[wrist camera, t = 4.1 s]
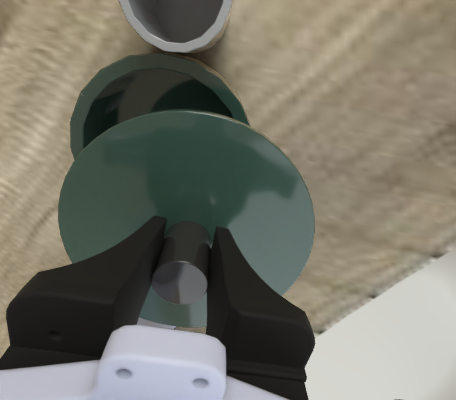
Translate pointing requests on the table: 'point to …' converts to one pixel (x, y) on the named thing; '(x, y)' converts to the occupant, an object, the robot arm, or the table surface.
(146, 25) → the gray cylindrical cup
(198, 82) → the pot
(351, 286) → the table surface
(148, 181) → the pot lid
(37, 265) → the table surface
